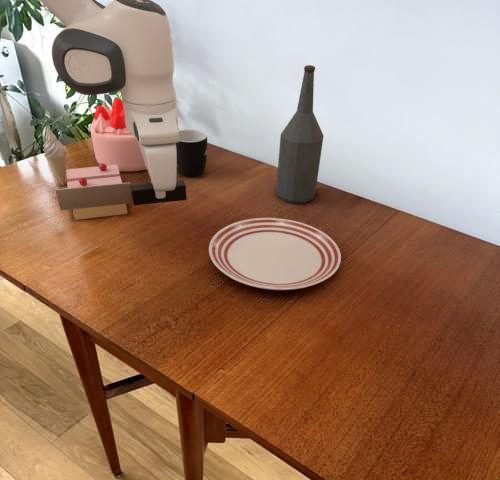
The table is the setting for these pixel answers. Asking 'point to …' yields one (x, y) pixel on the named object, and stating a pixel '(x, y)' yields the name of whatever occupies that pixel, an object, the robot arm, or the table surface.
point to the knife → (116, 195)
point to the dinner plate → (274, 253)
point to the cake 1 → (115, 139)
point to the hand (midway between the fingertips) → (158, 192)
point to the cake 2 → (93, 178)
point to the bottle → (300, 148)
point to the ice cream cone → (55, 154)
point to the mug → (191, 152)
